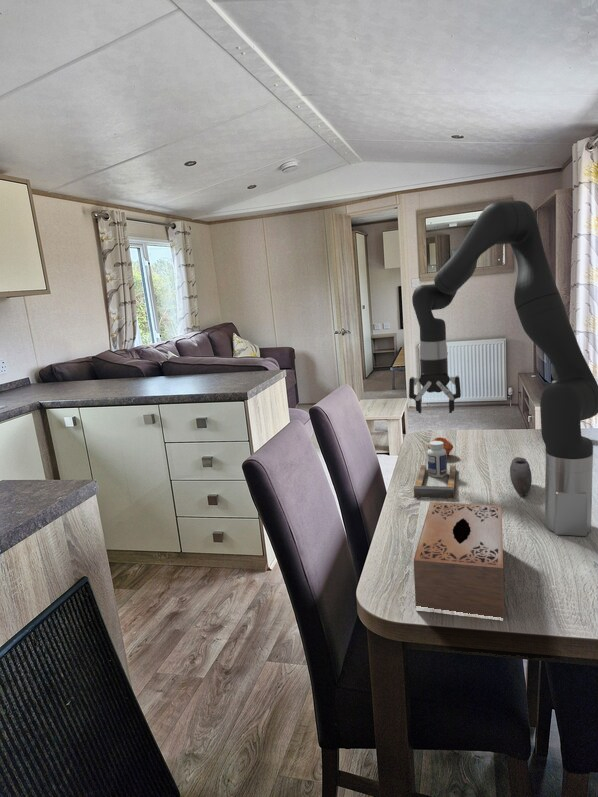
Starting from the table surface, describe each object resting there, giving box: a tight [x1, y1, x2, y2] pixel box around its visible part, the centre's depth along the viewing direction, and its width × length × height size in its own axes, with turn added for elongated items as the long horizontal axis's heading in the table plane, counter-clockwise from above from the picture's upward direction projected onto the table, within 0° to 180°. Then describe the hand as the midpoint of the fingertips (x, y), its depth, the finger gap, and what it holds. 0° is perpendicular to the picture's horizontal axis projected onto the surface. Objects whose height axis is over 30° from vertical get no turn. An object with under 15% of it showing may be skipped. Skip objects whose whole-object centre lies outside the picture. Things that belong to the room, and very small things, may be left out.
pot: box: [427, 437, 454, 457], centre depth 176 cm, size 8×8×7 cm
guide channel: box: [413, 464, 457, 499], centre depth 154 cm, size 22×10×2 cm, turn 163°
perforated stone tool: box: [509, 456, 533, 497], centre depth 144 cm, size 15×5×7 cm, turn 161°
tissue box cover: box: [413, 501, 505, 619], centre depth 105 cm, size 26×14×10 cm, turn 161°
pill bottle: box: [426, 440, 448, 478], centre depth 160 cm, size 5×5×10 cm
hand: (435, 412), depth 157 cm, fingers open, 8 cm apart
